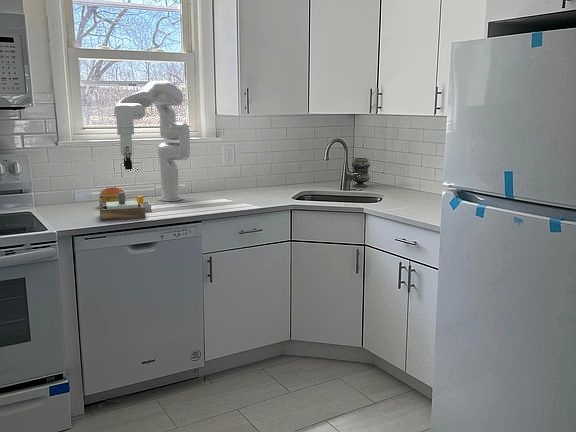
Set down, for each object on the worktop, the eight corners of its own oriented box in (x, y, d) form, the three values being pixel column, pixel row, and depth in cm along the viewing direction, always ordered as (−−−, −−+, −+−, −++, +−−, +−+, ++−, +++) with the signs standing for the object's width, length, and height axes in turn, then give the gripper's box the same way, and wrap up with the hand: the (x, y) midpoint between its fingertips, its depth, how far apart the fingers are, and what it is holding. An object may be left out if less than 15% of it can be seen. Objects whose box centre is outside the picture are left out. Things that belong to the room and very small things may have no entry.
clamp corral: (115, 210, 285) (115, 203, 284) (149, 208, 290) (149, 201, 289) (116, 213, 277) (116, 206, 276) (151, 211, 282) (150, 204, 282)
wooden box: (100, 216, 271) (99, 199, 269) (143, 213, 277) (142, 197, 276) (100, 220, 260) (99, 203, 258) (145, 217, 266) (144, 201, 265)
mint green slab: (106, 205, 271) (105, 191, 270) (136, 203, 276) (135, 190, 274) (106, 209, 260) (105, 195, 259) (138, 207, 264) (137, 194, 263)
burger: (130, 204, 302) (129, 185, 300) (121, 209, 288) (119, 189, 286) (105, 204, 302) (104, 185, 300) (95, 208, 289) (94, 189, 287)
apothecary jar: (365, 188, 353) (366, 159, 350) (347, 186, 359) (348, 158, 356) (372, 185, 363) (373, 157, 360) (355, 184, 369) (356, 156, 366)
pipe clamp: (125, 213, 278) (124, 200, 276) (120, 211, 280) (119, 199, 279) (145, 209, 287) (145, 196, 285) (140, 208, 289) (139, 195, 288)
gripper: (116, 130, 270) (119, 166, 274) (117, 132, 254) (120, 170, 258) (132, 129, 272) (135, 165, 276) (135, 132, 256) (137, 170, 260)
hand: (128, 167), depth 267 cm, fingers open, 9 cm apart
